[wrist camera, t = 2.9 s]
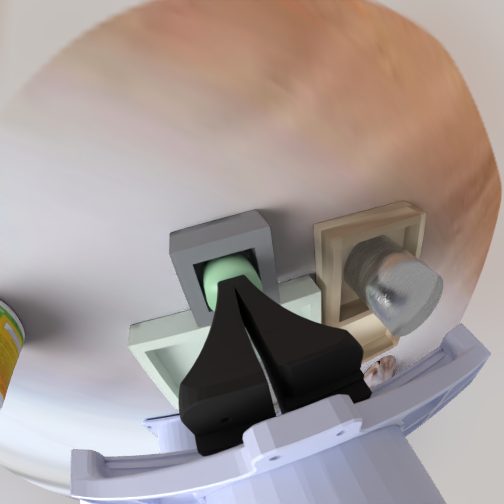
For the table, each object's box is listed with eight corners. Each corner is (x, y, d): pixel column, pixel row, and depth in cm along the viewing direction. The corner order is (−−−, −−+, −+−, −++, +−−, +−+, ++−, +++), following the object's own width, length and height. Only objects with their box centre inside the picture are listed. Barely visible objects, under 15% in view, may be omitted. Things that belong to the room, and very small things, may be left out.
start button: (255, 285, 16) (266, 307, 14) (209, 299, 15) (214, 322, 14) (247, 244, 14) (258, 262, 13) (195, 258, 14) (199, 279, 12)
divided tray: (383, 329, 25) (397, 345, 23) (316, 360, 24) (327, 379, 22) (403, 200, 18) (426, 212, 16) (313, 224, 17) (333, 241, 15)
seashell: (325, 417, 33) (351, 467, 25) (341, 373, 27) (381, 436, 19) (380, 393, 35) (408, 436, 27) (406, 345, 29) (447, 394, 21)
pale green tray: (310, 351, 23) (319, 367, 21) (174, 391, 21) (176, 410, 20) (308, 274, 19) (321, 290, 17) (130, 325, 17) (127, 346, 15)
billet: (389, 278, 20) (432, 319, 15) (342, 297, 19) (383, 347, 15) (395, 227, 18) (449, 264, 13) (344, 243, 17) (397, 291, 12)
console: (267, 280, 18) (280, 303, 16) (194, 301, 17) (198, 327, 15) (255, 209, 15) (269, 226, 13) (169, 233, 15) (169, 254, 13)
